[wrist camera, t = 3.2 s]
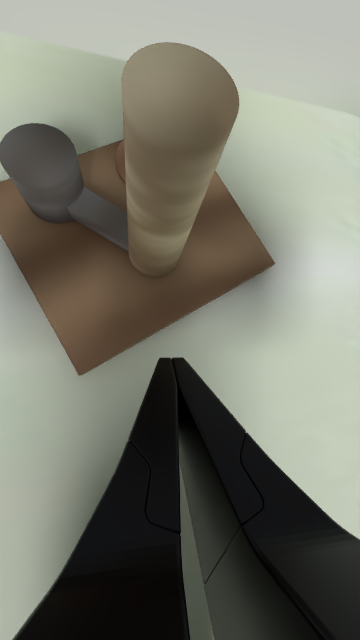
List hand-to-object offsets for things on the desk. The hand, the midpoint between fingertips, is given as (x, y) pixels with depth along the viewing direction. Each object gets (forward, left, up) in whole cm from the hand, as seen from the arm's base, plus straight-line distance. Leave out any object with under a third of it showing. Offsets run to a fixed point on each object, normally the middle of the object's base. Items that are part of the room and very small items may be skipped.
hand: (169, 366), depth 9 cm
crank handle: (+9, -2, -7) cm, 12 cm away
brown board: (+8, -4, -8) cm, 12 cm away
